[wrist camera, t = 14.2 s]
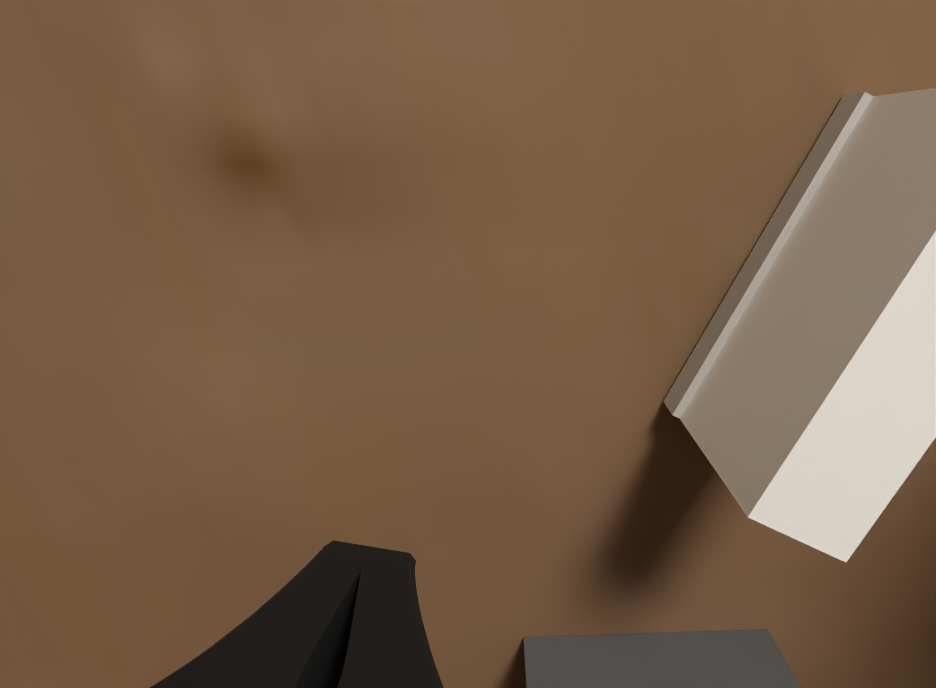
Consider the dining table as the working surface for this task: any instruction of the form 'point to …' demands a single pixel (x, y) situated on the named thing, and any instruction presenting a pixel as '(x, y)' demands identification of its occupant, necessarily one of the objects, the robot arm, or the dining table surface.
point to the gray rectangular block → (657, 661)
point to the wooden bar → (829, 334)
